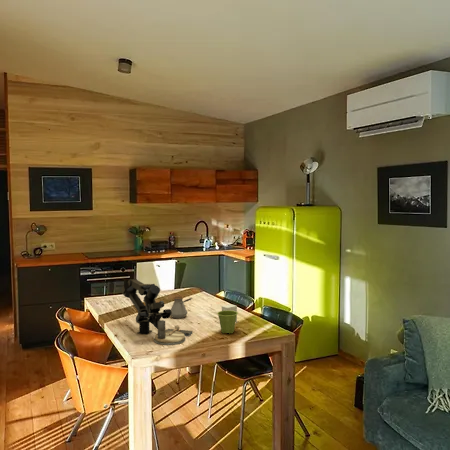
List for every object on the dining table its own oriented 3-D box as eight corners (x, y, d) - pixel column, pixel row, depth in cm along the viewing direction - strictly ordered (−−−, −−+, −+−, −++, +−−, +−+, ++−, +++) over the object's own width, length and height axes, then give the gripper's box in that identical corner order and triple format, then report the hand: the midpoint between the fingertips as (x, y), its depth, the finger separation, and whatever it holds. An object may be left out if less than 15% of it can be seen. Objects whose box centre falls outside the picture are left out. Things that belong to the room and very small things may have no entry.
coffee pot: (166, 316, 302) (166, 293, 301) (181, 313, 309) (180, 291, 308) (184, 323, 285) (184, 299, 284) (199, 320, 292) (199, 297, 291)
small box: (231, 320, 292) (231, 304, 292) (237, 322, 288) (237, 305, 287) (221, 322, 287) (221, 305, 287) (227, 324, 283) (227, 307, 282)
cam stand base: (166, 331, 269) (166, 328, 268) (194, 334, 264) (194, 330, 263) (148, 343, 247) (148, 340, 247) (178, 346, 242) (178, 343, 242)
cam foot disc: (164, 330, 267) (164, 312, 266) (191, 332, 263) (191, 313, 263) (150, 341, 246) (149, 321, 246) (178, 343, 243) (178, 323, 242)
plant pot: (216, 329, 273) (216, 310, 272) (237, 329, 273) (237, 310, 273) (217, 335, 261) (217, 315, 260) (238, 335, 262) (238, 315, 261)
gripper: (138, 297, 247) (145, 323, 238) (170, 294, 257) (178, 318, 248) (133, 308, 255) (140, 334, 246) (164, 305, 264) (172, 329, 255)
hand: (158, 328), depth 248 cm, fingers closed, pressing on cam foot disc
